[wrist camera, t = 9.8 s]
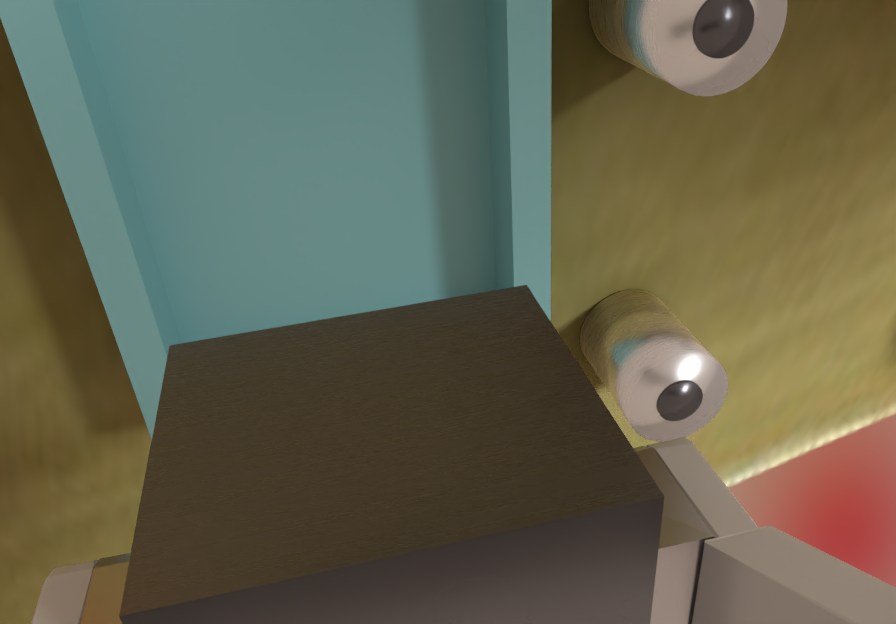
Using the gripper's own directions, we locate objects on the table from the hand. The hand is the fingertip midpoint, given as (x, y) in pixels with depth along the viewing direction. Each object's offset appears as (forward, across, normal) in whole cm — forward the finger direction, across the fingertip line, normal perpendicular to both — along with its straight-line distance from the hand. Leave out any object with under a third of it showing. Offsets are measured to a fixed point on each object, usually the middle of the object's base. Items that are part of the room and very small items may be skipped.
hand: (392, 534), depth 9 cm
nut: (+2, 0, 0) cm, 2 cm away
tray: (+16, 0, 0) cm, 16 cm away
